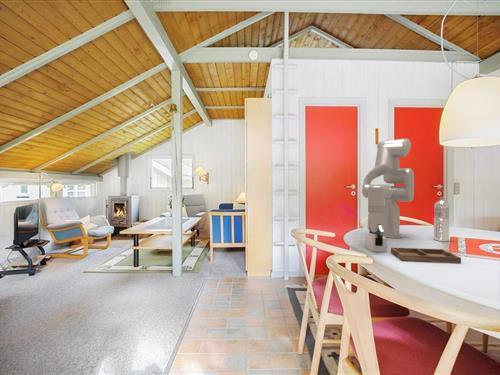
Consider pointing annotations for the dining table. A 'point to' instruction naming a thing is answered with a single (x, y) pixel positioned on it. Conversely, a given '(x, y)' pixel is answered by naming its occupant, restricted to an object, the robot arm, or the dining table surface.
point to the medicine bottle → (371, 242)
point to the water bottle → (441, 220)
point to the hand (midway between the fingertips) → (375, 243)
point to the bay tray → (425, 255)
